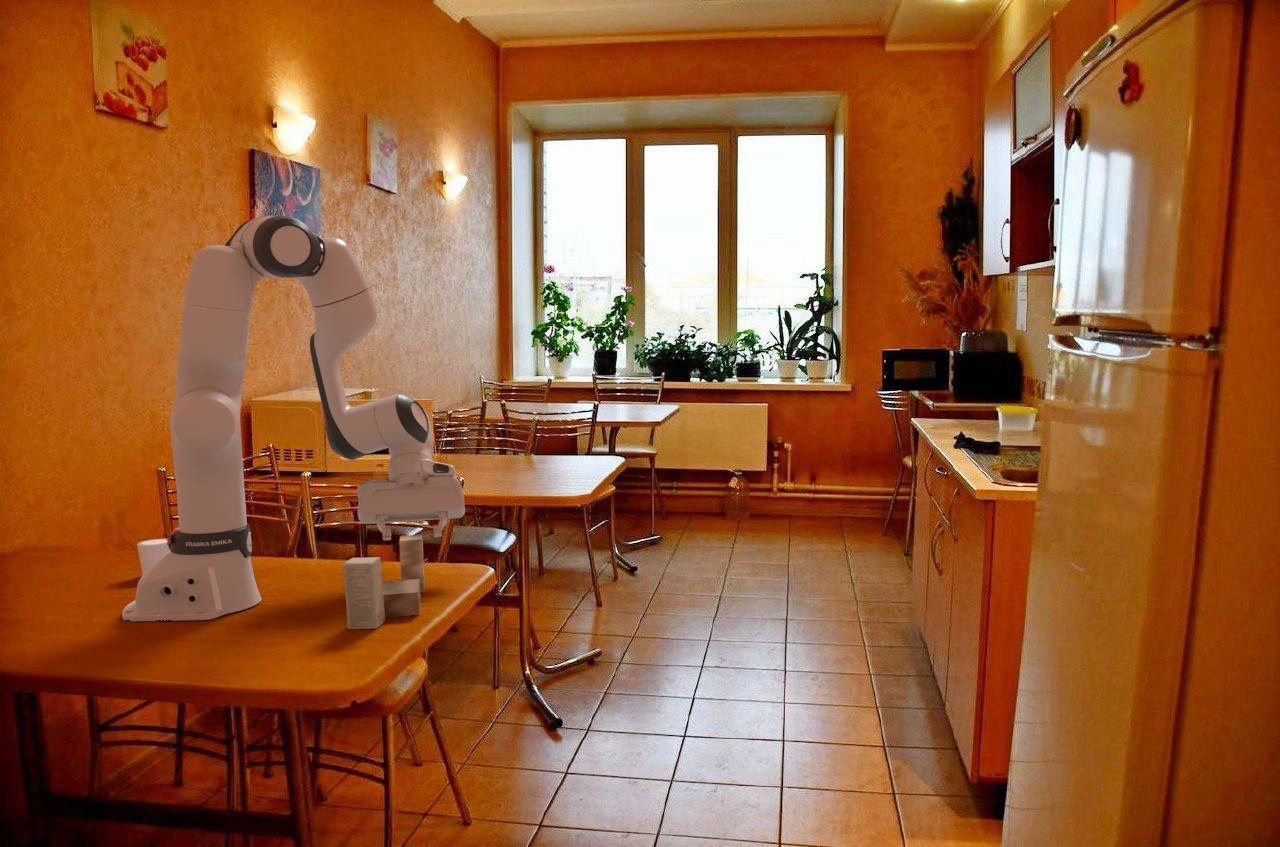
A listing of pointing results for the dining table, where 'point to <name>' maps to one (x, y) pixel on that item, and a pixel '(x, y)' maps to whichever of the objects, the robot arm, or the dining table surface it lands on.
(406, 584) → the light tan slab
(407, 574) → the oak post
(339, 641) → the dining table surface
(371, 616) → the box
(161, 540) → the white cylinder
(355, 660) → the dining table surface
